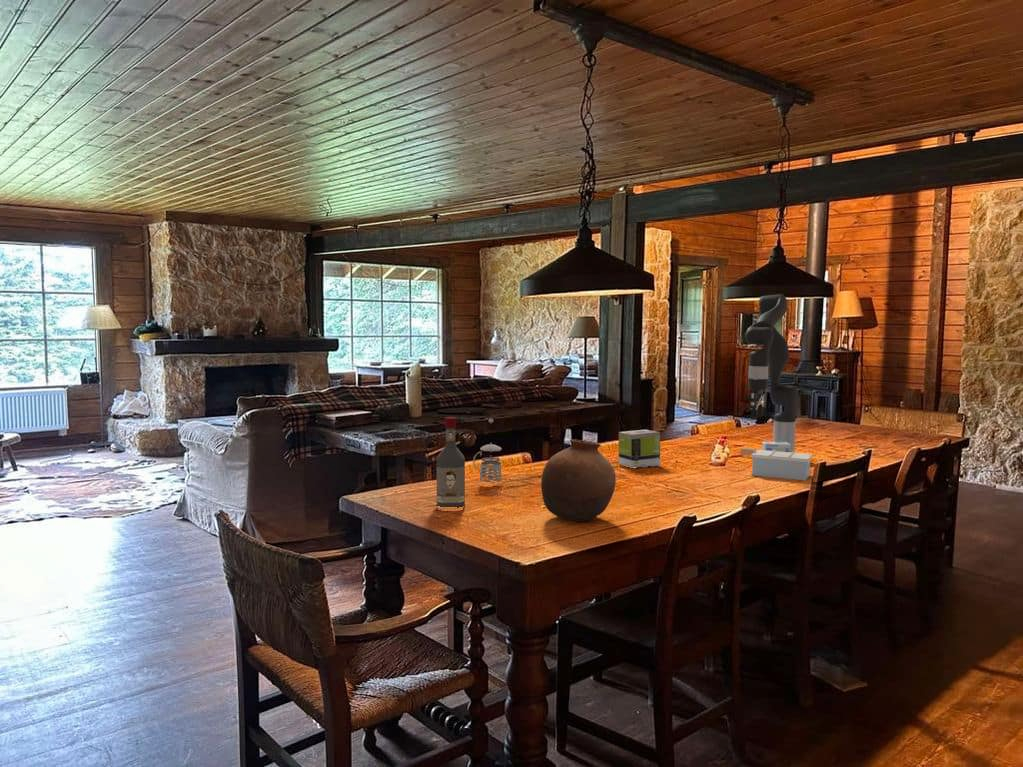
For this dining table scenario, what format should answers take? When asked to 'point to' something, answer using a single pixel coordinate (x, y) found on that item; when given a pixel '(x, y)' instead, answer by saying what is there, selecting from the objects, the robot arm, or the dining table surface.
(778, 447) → the light bulb box
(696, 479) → the dining table surface
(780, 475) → the tub
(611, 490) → the pottery
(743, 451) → the lid
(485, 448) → the french press
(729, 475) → the dining table surface
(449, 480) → the liquor
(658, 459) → the tea box
